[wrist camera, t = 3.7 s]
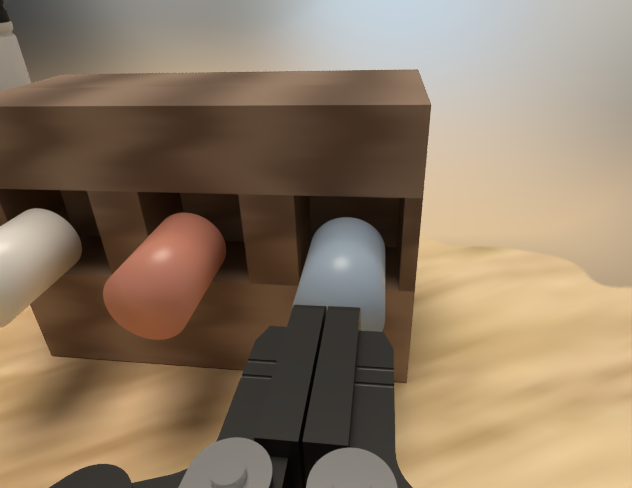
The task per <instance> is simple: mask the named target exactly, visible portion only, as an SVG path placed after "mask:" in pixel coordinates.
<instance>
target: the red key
mask: <svg viewBox="0 0 632 488" xmlns="http://www.w3.org/2000/svg"><path fill="white" fill-rule="evenodd" d="M225 256H226V245H225V241H224V238H223V236H222V234H221V233H220V231H219V230H218V229H217V227H216V226H215V225H214V224H212V223H211V222H210V221H209V220H207V219H205V218H204V217H201V216H199V215H196V214H192V213H176V214H173V215H171V216H169V217H167V218H166V219H165V220H164V221H163V222H162V223H161V224H160V225H159V226H158V227H157V228H156V229H155V230H154V231H153V232H152V233H151V234H150V235H149V236H148V237H147V238H146V240H145V241H144V242H143V243H142V244H141V245H140V246H139V247H138V248H137V249H136V250H135V251H134V252H133V253H132V254H131V255H130V256H129V257H128V259H127V260H126V261H125V262H124V263H123V264H122V265H121V266H120V267H119V268H118V269H117V270H116V271H115V272H114V273H113V274H112V275H111V276H110V278H109V279H108V280H107V281H106V283H105V286H104V289H103V298H104V303H105V306H106V308H107V310H108V312H109V313H110V315H111V316H112V317H113V319H114V320H115V321H116V322H117V323H118V324H119V325H120V326H122V327H123V328H124V329H126V330H127V331H129V332H131V333H133V334H135V335H137V336H140V337H143V338H147V339H153V340H163V339H168V338H172V337H174V336H176V335H178V334H179V333H180V332H181V331H182V330H183V329H184V328H185V326H186V324H187V323H188V321H189V319H190V317H191V316H192V314H193V312H194V311H195V309H196V307H197V306H198V304H199V302H200V301H201V299H202V297H203V295H204V294H205V292H206V290H207V289H208V287H209V285H210V284H211V282H212V280H213V279H214V277H215V275H216V273H217V272H218V270H219V268H220V267H221V265H222V263H223V262H224V259H225Z"/></svg>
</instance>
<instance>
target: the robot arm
mask: <svg viewBox="0 0 632 488" xmlns="http://www.w3.org/2000/svg"><path fill="white" fill-rule="evenodd" d="M49 488H413V487H411V485H410V484H409V483H408V482H407V481H406V479H405V478H404V476H403V475H402V473H401V471H400V469H399V467H398V464H397V460H396V454H395V409H394V351H393V347H392V345H391V344H390V342H389V340H388V339H387V337H386V335H385V334H384V332H378V331H361V308H360V307H339V306H328V309H327V307H326V306H314V305H294V306H293V308H292V311H291V315H290V318H289V322H288V325H287V327H282V326H269V327H268V328H267V329H266V330H265V331H264V332H263V333H262V334H261V335H260V336H259V337H258V338H257V339H256V340H255V342H254V345H253V347H252V350H251V353H250V355H249V358H248V362H247V363H246V366H245V368H244V371H243V375H242V378H241V379H240V382H239V384H238V387H237V390H236V392H235V395H234V397H233V400H232V403H231V405H230V408H229V411H228V413H227V416H226V418H225V421H224V424H223V426H222V429H221V432H220V434H219V437H218V439H217V441H216V442H215V443H213V444H211V445H209V446H208V447H206V448H205V449H203V450H202V451H201V452H200V453H199V454H198V455H197V456H196V457H195V458H194V460H193V461H192V462H191V464H190V466H189V467H188V468H187V469H185V470H183V471H181V472H178V473H175V474H171V475H168V476H163V477H158V478H154V479H149V480H144V481H140V482H135V483H131V480H130V478H129V476H128V475H127V473H126V472H125V471H124V470H122V469H121V468H119V467H117V466H114V465H110V464H97V465H91V466H88V467H85V468H82V469H80V470H78V471H75V472H74V473H72V474H70V475H68V476H67V477H65V478H64V479H62V480H60V481H59V482H57V483H56V484H54V485H53V486H51V487H49Z"/></svg>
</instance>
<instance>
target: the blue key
mask: <svg viewBox="0 0 632 488" xmlns="http://www.w3.org/2000/svg"><path fill="white" fill-rule="evenodd" d="M294 305H314V306H326V307H327V309H328V306H339V307H360V308H361V331H378V332H382V330H383V328H384V324H385V244H384V241H383V239H382V237H381V235H380V233H379V232H378V231H377V230H376V229H375V228H374V227H373V226H372V225H370V224H369V223H367V222H365V221H363V220H360V219H357V218H350V217H342V218H336V219H333V220H330V221H328V222H326V223H325V224H323V225H322V226H321V227H320V228H319V229H318V230H317V231H316V232H315V234H314V236H313V238H312V241H311V244H310V248H309V251H308V255H307V258H306V261H305V265H304V268H303V272H302V275H301V278H300V282H299V285H298V289H297V292H296V296H295V299H294V302H293V306H294ZM293 306H292V308H293Z"/></svg>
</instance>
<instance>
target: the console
mask: <svg viewBox="0 0 632 488" xmlns="http://www.w3.org/2000/svg"><path fill="white" fill-rule="evenodd" d="M430 111H431V103H430V100H429V98H428V95H427V93H426V90H425V87H424V84H423V82H422V79H421V76H420V74H419V71H418V70H353V71H286V72H213V73H146V74H143V73H142V74H74V75H73V74H72V75H59V76H56V77H52V78H49V79H45V80H41V81H37V82H34V83H30V84H27V85H23V86H19V87H16V88H12V89H8V90H5V91H1V92H0V226H2V225H3V224H5V223H7V222H8V221H10V220H11V219H13V218H15V217H16V216H18V215H19V214H21V213H23V212H24V211H26V210H29V209H33V208H39V209H45V210H49V211H52V212H54V213H56V214H58V215H60V216H61V217H62V218H64V219H65V220H66V221H67V222H68V223H69V224H70V225H71V226H72V227H73V228H74V229H75V231H76V232H77V234H78V236H79V238H80V241H81V245H82V253H81V257H80V259H79V261H78V262H77V263H76V264H75V265H74V266H72V267H71V268H70V269H69V270H68V271H67V272H66V273H65V274H64V275H62V276H61V277H60V278H59V279H58V280H57V281H56V282H55V283H53V284H52V285H51V286H50V287H49V288H48V289H47V290H46V291H45V292H43V293H42V294H41V295H40V296H39V297H38V298H37V299H36V300H34V301H33V302H32V303H31V304H30V305H31V308H32V310H33V313H34V315H35V317H36V320H37V322H38V324H39V327H40V329H41V331H42V334H43V336H44V338H45V341H46V343H47V345H48V348H49V350H50V353H51V355H52V356H65V357H78V358H91V359H104V360H117V361H131V362H144V363H157V364H170V365H183V366H197V367H210V368H223V369H236V370H244V368H245V366H246V363H247V362H248V358H249V355H250V353H251V350H252V347H253V345H254V342H255V340H256V339H257V338H258V337H259V336H260V335H261V334H262V333H263V332H264V331H265V330H266V329H267V328H268V327H269V326H282V327H287V325H288V322H289V318H290V315H291V311H292V306H293V302H294V299H295V296H296V292H297V289H298V285H299V282H300V278H301V275H302V272H303V268H304V265H305V261H306V258H307V255H308V251H309V248H310V244H311V241H312V238H313V236H314V234H315V232H316V231H317V230H318V229H319V228H320V227H321V226H322V225H323V224H325V223H326V222H328V221H330V220H333V219H336V218H342V217H350V218H357V219H360V220H363V221H365V222H367V223H369V224H370V225H372V226H373V227H374V228H375V229H376V230H377V231H378V232H379V233H380V235H381V237H382V239H383V241H384V244H385V324H384V328H383V330H382V332H384V334H385V335H386V337H387V339H388V340H389V342H390V344H391V345H392V347H393V351H394V382H407V371H408V360H409V349H410V337H411V326H412V315H413V303H414V292H415V281H416V270H417V258H418V247H419V236H420V224H421V213H422V201H423V190H424V179H425V167H426V157H427V145H428V133H429V123H430ZM176 213H192V214H196V215H199V216H201V217H204V218H205V219H207V220H209V221H210V222H211V223H212V224H214V225H215V226H216V227H217V229H218V230H219V231H220V233H221V234H222V236H223V238H224V241H225V245H226V256H225V259H224V262H223V263H222V265H221V267H220V268H219V270H218V272H217V273H216V275H215V277H214V279H213V280H212V282H211V284H210V285H209V287H208V289H207V290H206V292H205V294H204V295H203V297H202V299H201V301H200V302H199V304H198V306H197V307H196V309H195V311H194V312H193V314H192V316H191V317H190V319H189V321H188V323H187V324H186V326H185V328H184V329H183V330H182V331H181V332H180V333H179V334H178V335H176V336H174V337H172V338H168V339H163V340H153V339H147V338H143V337H140V336H137V335H135V334H133V333H131V332H129V331H127V330H126V329H124V328H123V327H122V326H120V325H119V324H118V323H117V322H116V321H115V320H114V319H113V317H112V316H111V315H110V313H109V312H108V310H107V308H106V306H105V303H104V298H103V289H104V286H105V283H106V281H107V280H108V279H109V278H110V276H111V275H112V274H113V273H114V272H115V271H116V270H117V269H118V268H119V267H120V266H121V265H122V264H123V263H124V262H125V261H126V260H127V259H128V257H129V256H130V255H131V254H132V253H133V252H134V251H135V250H136V249H137V248H138V247H139V246H140V245H141V244H142V243H143V242H144V241H145V240H146V238H147V237H148V236H149V235H150V234H151V233H152V232H153V231H154V230H155V229H156V228H157V227H158V226H159V225H160V224H161V223H162V222H163V221H164V220H165V219H166V218H167V217H169V216H171V215H173V214H176Z"/></svg>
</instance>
